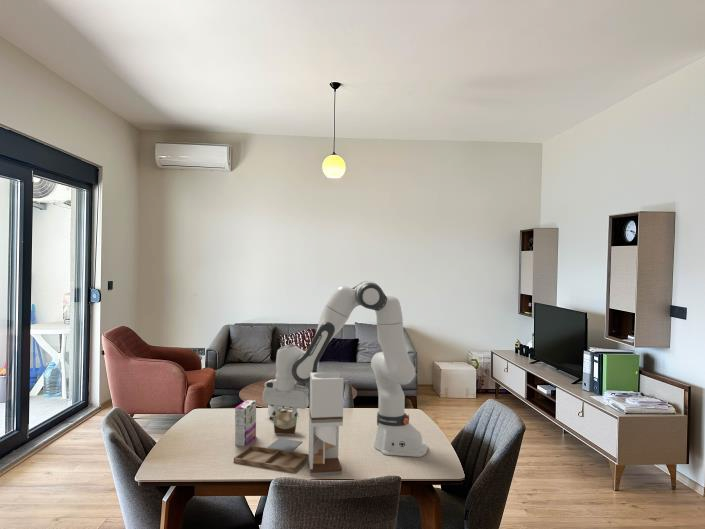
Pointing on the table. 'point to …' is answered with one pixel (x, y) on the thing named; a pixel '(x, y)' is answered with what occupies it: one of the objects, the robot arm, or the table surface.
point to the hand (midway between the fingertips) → (285, 416)
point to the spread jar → (271, 409)
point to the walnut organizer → (271, 458)
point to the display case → (325, 423)
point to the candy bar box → (245, 422)
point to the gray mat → (285, 444)
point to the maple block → (284, 417)
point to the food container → (282, 428)
